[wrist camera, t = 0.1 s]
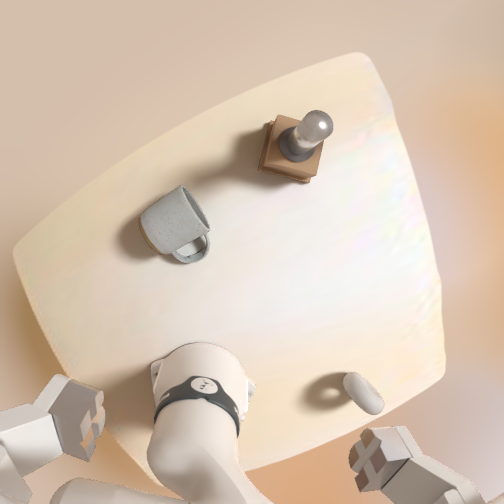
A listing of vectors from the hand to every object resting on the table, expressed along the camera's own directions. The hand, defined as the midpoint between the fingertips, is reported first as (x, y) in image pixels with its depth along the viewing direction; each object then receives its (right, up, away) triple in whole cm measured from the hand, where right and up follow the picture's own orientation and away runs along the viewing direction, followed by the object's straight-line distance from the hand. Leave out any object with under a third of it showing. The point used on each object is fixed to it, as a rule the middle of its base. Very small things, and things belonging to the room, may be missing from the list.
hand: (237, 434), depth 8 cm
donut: (+20, -19, +44) cm, 52 cm away
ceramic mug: (-10, +9, +38) cm, 40 cm away
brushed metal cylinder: (+7, +20, +31) cm, 37 cm away
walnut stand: (+6, +21, +37) cm, 43 cm away
